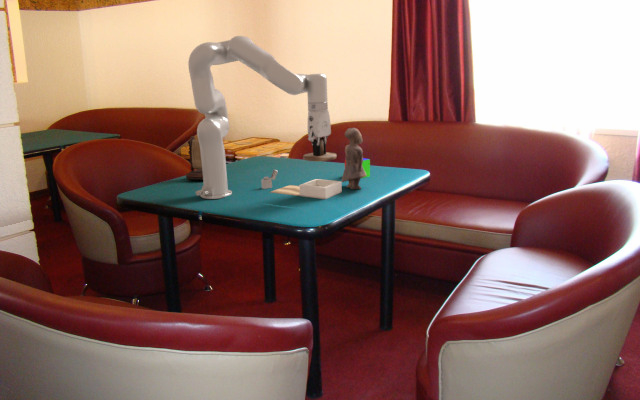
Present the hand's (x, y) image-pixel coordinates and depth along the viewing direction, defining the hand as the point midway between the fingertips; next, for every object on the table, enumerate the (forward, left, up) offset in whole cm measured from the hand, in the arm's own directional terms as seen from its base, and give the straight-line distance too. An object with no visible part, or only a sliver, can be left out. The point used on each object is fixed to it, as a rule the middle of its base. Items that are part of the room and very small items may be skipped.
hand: (319, 154), depth 219 cm
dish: (0, 0, -17) cm, 17 cm away
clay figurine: (+16, -6, -17) cm, 24 cm away
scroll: (+4, +68, -17) cm, 70 cm away
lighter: (+1, +26, -17) cm, 31 cm away
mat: (+1, +14, -17) cm, 22 cm away
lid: (0, 0, -2) cm, 2 cm away
